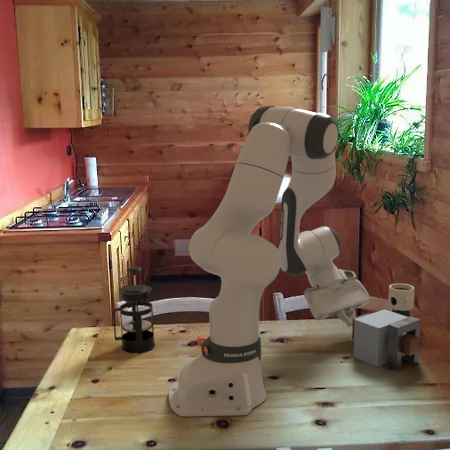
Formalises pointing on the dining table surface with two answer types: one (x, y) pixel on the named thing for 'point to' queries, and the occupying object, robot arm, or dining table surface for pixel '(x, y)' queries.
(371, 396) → the dining table surface
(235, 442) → the dining table surface
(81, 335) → the dining table surface
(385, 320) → the grey rectangular block
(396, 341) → the block
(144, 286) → the french press
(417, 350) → the shaft
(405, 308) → the character mug
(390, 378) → the dining table surface
